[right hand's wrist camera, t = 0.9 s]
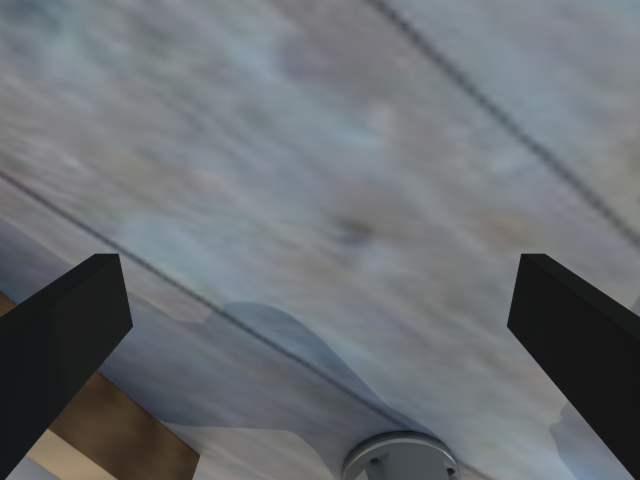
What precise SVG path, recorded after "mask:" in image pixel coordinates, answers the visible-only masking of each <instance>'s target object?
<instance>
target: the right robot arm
mask: <svg viewBox="0 0 640 480" xmlns="http://www.w3.org/2000/svg"><path fill="white" fill-rule="evenodd" d="M132 327H133V323H132V318H131V313H130V308H129V303H128V298H127V293H126V288H125V283H124V278H123V273H122V268H121V263H120V258H119V254H94V255H92V256H91V257H89V258H88V259H86V260H85V261H83V262H82V263H80V264H79V265H77V266H76V267H74V268H73V269H71V270H70V271H69V272H67V273H66V274H64V275H63V276H61V277H60V278H58V279H57V280H55V281H54V282H52V283H51V284H49V285H48V286H46V287H45V288H43V289H42V290H40V291H39V292H37V293H36V294H34V295H33V296H31V297H30V298H28V299H27V300H25V301H24V302H22V303H21V304H19V305H18V306H16V307H15V308H13V309H12V310H10V311H9V312H7V313H6V314H4V315H3V316H1V317H0V480H5V479H6V478H7V476H8V475H9V474H10V473H11V472H12V470H13V469H14V468H15V467H16V466H17V464H18V463H19V462H20V461H21V460H22V459H23V457H24V456H25V455H26V454H27V453H28V451H29V450H30V449H31V448H32V447H33V445H34V444H35V443H36V442H37V441H38V439H39V438H40V437H41V436H42V435H43V434H44V432H45V431H46V430H47V429H48V428H49V426H50V425H51V424H52V423H53V422H54V420H55V419H56V418H57V417H58V416H59V414H60V413H61V412H62V411H63V410H64V408H65V407H66V406H67V405H68V404H69V402H70V401H71V400H72V399H73V398H74V396H75V395H76V394H77V393H78V392H79V391H80V389H81V388H82V387H83V386H84V385H85V383H86V382H87V381H88V380H89V379H90V377H91V376H92V375H93V374H94V373H95V371H96V370H97V369H98V368H99V367H100V365H101V364H102V363H103V362H104V361H105V359H106V358H107V357H108V356H109V355H110V353H111V352H112V351H113V350H114V349H115V347H116V346H117V345H118V344H119V343H120V342H121V340H122V339H123V338H124V337H125V336H126V334H127V333H128V332H129V331H130V330H131V328H132ZM507 327H508V328H509V330H510V331H511V332H512V333H513V334H514V336H515V337H516V338H517V339H518V340H519V342H520V343H521V344H522V345H523V346H524V348H525V349H526V350H527V351H528V352H529V353H530V355H531V356H532V357H533V358H534V359H535V361H536V362H537V363H538V364H539V365H540V367H541V368H542V369H543V370H544V371H545V373H546V374H547V375H548V376H549V377H550V379H551V380H552V381H553V382H554V383H555V385H556V386H557V387H558V388H559V389H560V391H561V392H562V393H563V394H564V395H565V396H566V398H567V399H568V400H569V401H570V402H571V404H572V405H573V406H574V407H575V408H576V410H577V411H578V412H579V413H580V414H581V416H582V417H583V418H584V419H585V420H586V422H587V423H588V424H589V425H590V426H591V428H592V429H593V430H594V431H595V432H596V434H597V435H598V436H599V437H600V438H601V439H602V441H603V442H604V443H605V444H606V445H607V447H608V448H609V449H610V450H611V451H612V453H613V454H614V455H615V456H616V457H617V459H618V460H619V461H620V462H621V463H622V465H623V466H624V467H625V468H626V469H627V471H628V472H629V473H630V474H631V475H632V477H633V478H634V479H635V480H640V317H639V316H637V315H636V314H634V313H633V312H631V311H630V310H628V309H627V308H625V307H624V306H622V305H621V304H619V303H618V302H616V301H615V300H613V299H612V298H610V297H609V296H607V295H606V294H604V293H603V292H601V291H600V290H598V289H597V288H595V287H594V286H592V285H591V284H589V283H588V282H586V281H585V280H583V279H582V278H580V277H579V276H577V275H576V274H574V273H573V272H571V271H570V270H569V269H567V268H566V267H564V266H563V265H561V264H560V263H558V262H557V261H555V260H554V259H552V258H551V257H549V256H548V255H546V254H521V258H520V263H519V268H518V273H517V278H516V283H515V288H514V293H513V298H512V303H511V308H510V313H509V318H508V323H507ZM342 480H461V476H460V472H459V469H458V466H457V463H456V461H455V458H454V456H453V454H452V453H451V451H450V450H449V449H448V448H447V447H446V446H445V445H444V444H443V443H441V442H440V441H438V440H436V439H435V438H432V437H430V436H427V435H424V434H420V433H415V432H392V433H386V434H382V435H379V436H376V437H373V438H371V439H369V440H367V441H365V442H363V443H362V444H360V445H359V446H358V447H356V448H355V449H354V450H353V451H352V452H351V453H350V455H349V456H348V457H347V459H346V461H345V463H344V465H343V468H342Z"/></svg>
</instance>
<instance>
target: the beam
mask: <svg viewBox="0 0 640 480" xmlns="http://www.w3.org/2000/svg"><path fill="white" fill-rule="evenodd" d="M16 306H17V305H16V304H15V303H13V302H12V301H11V300H10V299H8V298H7V297H6V296H5V295H4V294H2V293H1V292H0V317H1V316H3V315H4V314H6V313H7V312H9V311H10V310H12V309H13V308H15V307H16ZM26 455H27V456H28V457H29V458H31V459H32V460H34V461H35V462H37V463H38V464H40V465H41V466H42V467H44V468H45V469H47V470H48V471H50V472H51V473H53V474H54V475H56V476H57V477H58V478H60V479H61V480H192V479H193V476H194V473H195V470H196V467H197V464H198V461H199V458H200V455H198V454H197V453H196V452H195V451H194V450H192V449H191V448H190V447H189V446H187V445H186V444H185V443H184V442H183V441H181V440H180V439H179V438H178V437H176V436H175V435H174V434H173V433H172V432H170V431H169V430H168V429H167V428H166V427H164V426H163V425H162V424H161V423H159V422H158V421H157V420H156V419H155V418H153V417H152V416H151V415H150V414H148V413H147V412H146V411H145V410H144V409H142V408H141V407H140V406H139V405H138V404H136V403H135V402H134V401H133V400H131V399H130V398H129V397H128V396H127V395H125V394H124V393H123V392H122V391H120V390H119V389H118V388H117V387H116V386H114V385H113V384H112V383H111V382H110V381H108V380H107V379H106V378H105V377H103V376H102V375H101V374H100V373H99V372H97V371H95V373H94V374H93V375H92V376H91V377H90V379H89V380H88V381H87V382H86V383H85V385H84V386H83V387H82V388H81V389H80V391H79V392H78V393H77V394H76V395H75V396H74V398H73V399H72V400H71V401H70V402H69V404H68V405H67V406H66V407H65V408H64V410H63V411H62V412H61V413H60V414H59V416H58V417H57V418H56V419H55V420H54V422H53V423H52V424H51V425H50V426H49V428H48V429H47V430H46V431H45V432H44V434H43V435H42V436H41V437H40V438H39V439H38V441H37V442H36V443H35V444H34V445H33V447H32V448H31V449H30V450H29V451H28V453H27V454H26Z"/></svg>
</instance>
